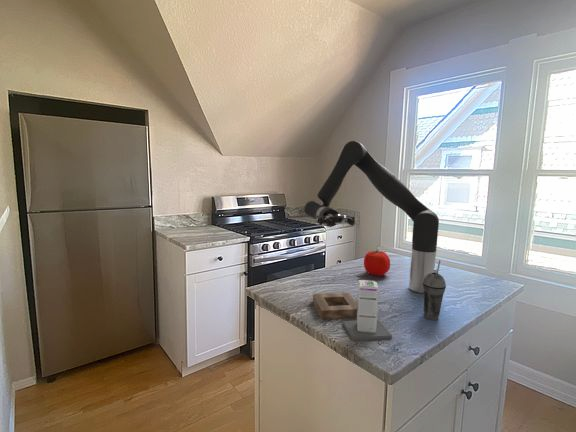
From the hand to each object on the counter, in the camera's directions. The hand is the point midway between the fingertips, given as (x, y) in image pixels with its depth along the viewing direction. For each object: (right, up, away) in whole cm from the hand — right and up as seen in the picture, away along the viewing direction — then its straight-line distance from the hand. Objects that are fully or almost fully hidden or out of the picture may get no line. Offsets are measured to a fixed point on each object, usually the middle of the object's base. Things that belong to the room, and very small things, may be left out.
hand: (342, 222), depth 117 cm
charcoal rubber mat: (+4, -33, -18) cm, 38 cm away
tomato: (+22, -26, +36) cm, 49 cm away
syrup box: (+4, -32, -18) cm, 37 cm away
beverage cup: (+29, -32, -7) cm, 44 cm away
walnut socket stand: (-3, -31, -3) cm, 31 cm away
